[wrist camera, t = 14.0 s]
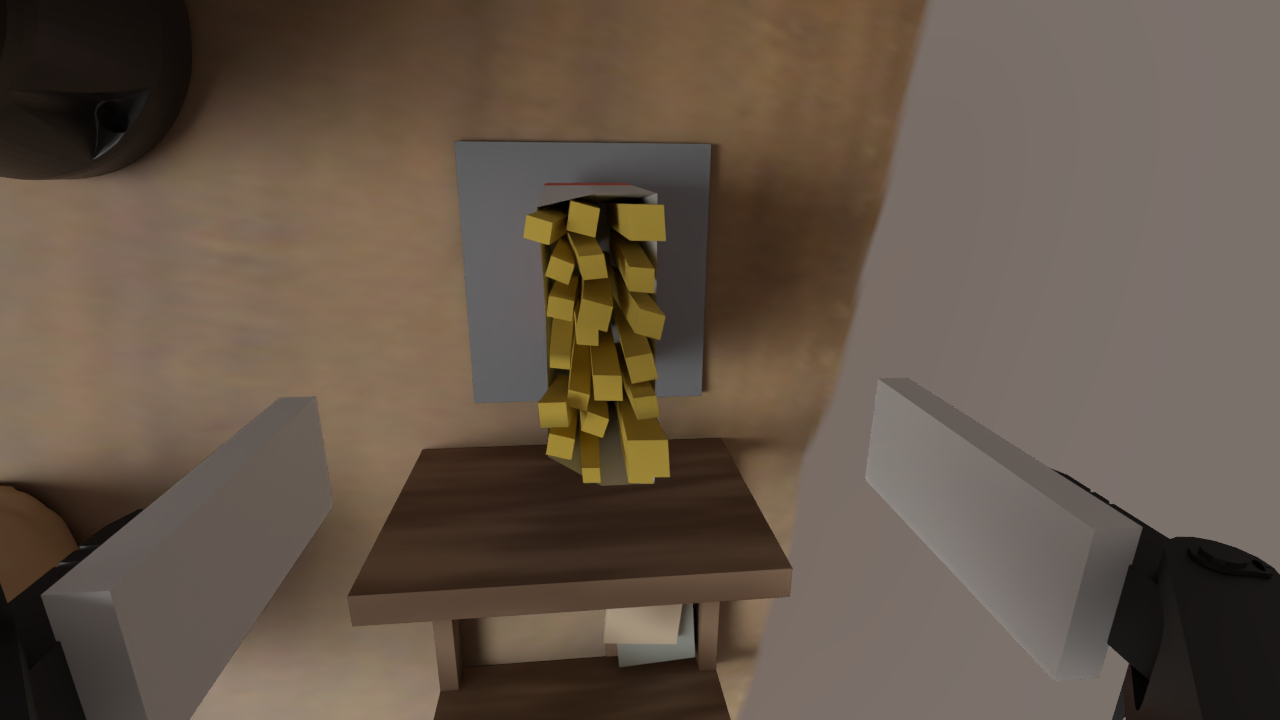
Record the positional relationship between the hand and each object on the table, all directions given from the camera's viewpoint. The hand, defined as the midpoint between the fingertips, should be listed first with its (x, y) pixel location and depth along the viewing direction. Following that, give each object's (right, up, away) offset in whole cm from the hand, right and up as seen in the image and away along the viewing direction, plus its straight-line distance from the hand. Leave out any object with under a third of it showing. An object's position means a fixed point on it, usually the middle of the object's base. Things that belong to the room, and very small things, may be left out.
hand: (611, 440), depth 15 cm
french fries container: (-3, +7, +22) cm, 23 cm away
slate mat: (-2, +7, +22) cm, 23 cm away
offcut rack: (-4, -12, +28) cm, 31 cm away
